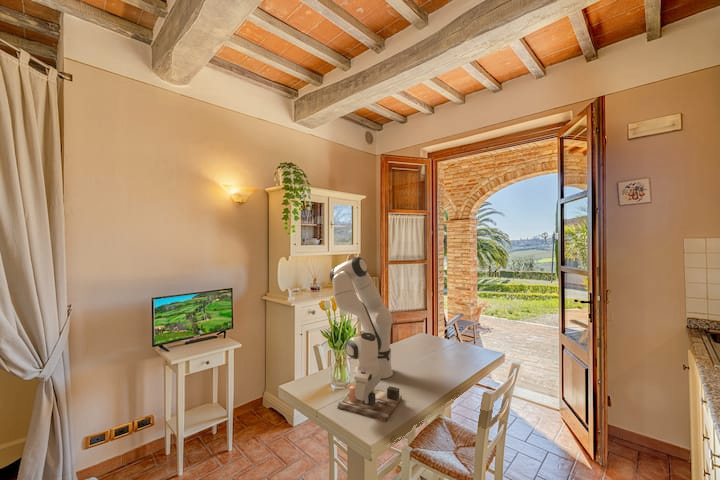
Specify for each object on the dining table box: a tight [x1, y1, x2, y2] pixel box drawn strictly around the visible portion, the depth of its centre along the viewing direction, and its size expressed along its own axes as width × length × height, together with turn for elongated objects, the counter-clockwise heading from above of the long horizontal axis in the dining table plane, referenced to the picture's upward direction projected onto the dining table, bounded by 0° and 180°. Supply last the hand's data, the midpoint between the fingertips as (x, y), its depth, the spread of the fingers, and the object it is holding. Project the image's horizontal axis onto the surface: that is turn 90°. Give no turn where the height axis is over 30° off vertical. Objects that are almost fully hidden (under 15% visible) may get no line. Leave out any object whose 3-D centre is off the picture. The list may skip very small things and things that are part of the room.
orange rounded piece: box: [348, 383, 360, 403], centre depth 144 cm, size 5×5×6 cm
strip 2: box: [374, 385, 401, 405], centre depth 147 cm, size 14×7×6 cm, turn 64°
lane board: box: [337, 388, 403, 422], centre depth 145 cm, size 24×20×2 cm
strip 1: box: [342, 392, 377, 410], centre depth 143 cm, size 14×7×6 cm, turn 64°
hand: (368, 400), depth 141 cm, fingers closed on strip 1, 3 cm apart
